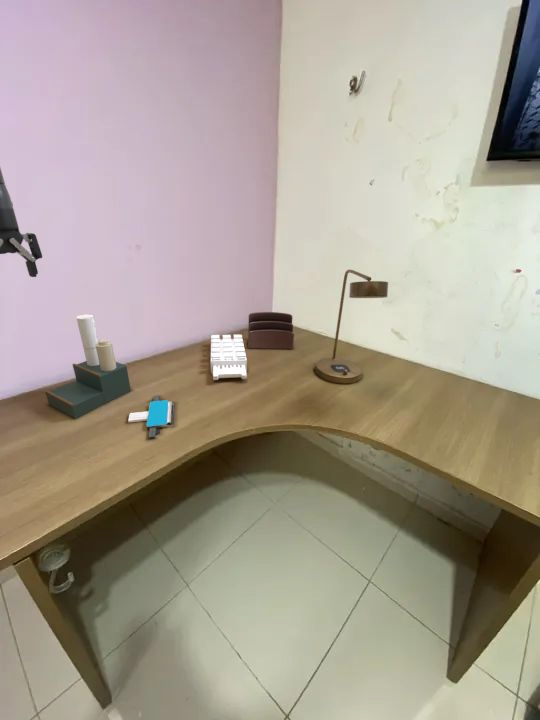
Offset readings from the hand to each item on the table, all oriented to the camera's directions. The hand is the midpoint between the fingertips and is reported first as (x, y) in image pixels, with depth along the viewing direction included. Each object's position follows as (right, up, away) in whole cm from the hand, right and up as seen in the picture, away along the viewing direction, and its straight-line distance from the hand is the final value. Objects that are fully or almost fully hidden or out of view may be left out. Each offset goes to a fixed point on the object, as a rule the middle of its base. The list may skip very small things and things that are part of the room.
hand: (14, 279), depth 77 cm
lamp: (+90, -27, +36) cm, 101 cm away
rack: (+8, -32, +19) cm, 38 cm away
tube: (+9, -21, +20) cm, 30 cm away
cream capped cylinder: (+14, -22, +17) cm, 32 cm away
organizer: (+47, -21, +45) cm, 69 cm away
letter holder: (+63, -13, +63) cm, 91 cm away
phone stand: (+30, -36, +11) cm, 48 cm away
